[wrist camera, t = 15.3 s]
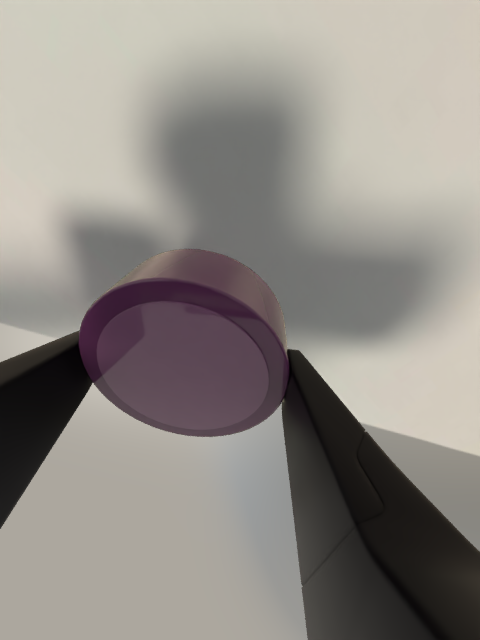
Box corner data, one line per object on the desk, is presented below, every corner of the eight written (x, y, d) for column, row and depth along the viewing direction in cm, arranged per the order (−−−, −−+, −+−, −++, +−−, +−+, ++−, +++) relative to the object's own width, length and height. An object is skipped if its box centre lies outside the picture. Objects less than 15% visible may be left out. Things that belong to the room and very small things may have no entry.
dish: (133, 379, 11) (104, 427, 9) (100, 238, 8) (41, 266, 6) (271, 396, 11) (272, 449, 9) (301, 258, 8) (313, 295, 6)
